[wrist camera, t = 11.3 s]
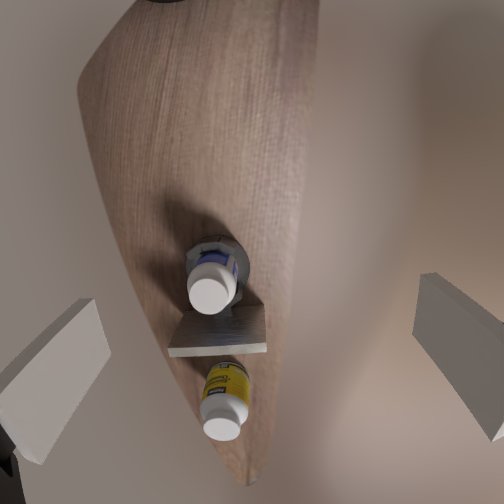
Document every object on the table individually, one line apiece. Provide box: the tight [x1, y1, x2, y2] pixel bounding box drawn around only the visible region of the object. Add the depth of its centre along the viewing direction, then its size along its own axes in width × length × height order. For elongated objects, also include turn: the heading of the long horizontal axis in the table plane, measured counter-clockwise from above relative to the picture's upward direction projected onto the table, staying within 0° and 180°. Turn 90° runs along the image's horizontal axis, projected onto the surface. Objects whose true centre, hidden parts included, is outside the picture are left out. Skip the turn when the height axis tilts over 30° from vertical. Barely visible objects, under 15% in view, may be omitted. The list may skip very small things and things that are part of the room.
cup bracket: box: [167, 235, 267, 357], centre depth 36 cm, size 11×11×10 cm
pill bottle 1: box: [187, 250, 238, 314], centre depth 35 cm, size 5×5×10 cm
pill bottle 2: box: [200, 362, 249, 441], centre depth 39 cm, size 6×6×12 cm
